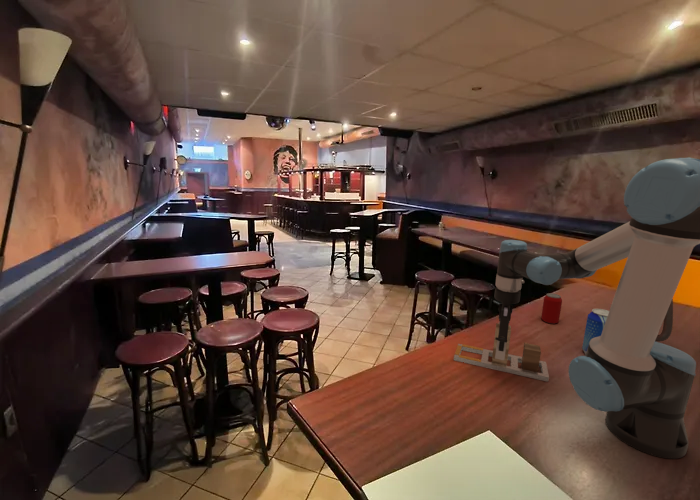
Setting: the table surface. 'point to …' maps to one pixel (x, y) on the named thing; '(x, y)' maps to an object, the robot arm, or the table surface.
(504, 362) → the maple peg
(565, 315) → the table surface
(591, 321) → the beer can
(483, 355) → the white yellow rectangular frame
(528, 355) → the walnut peg
